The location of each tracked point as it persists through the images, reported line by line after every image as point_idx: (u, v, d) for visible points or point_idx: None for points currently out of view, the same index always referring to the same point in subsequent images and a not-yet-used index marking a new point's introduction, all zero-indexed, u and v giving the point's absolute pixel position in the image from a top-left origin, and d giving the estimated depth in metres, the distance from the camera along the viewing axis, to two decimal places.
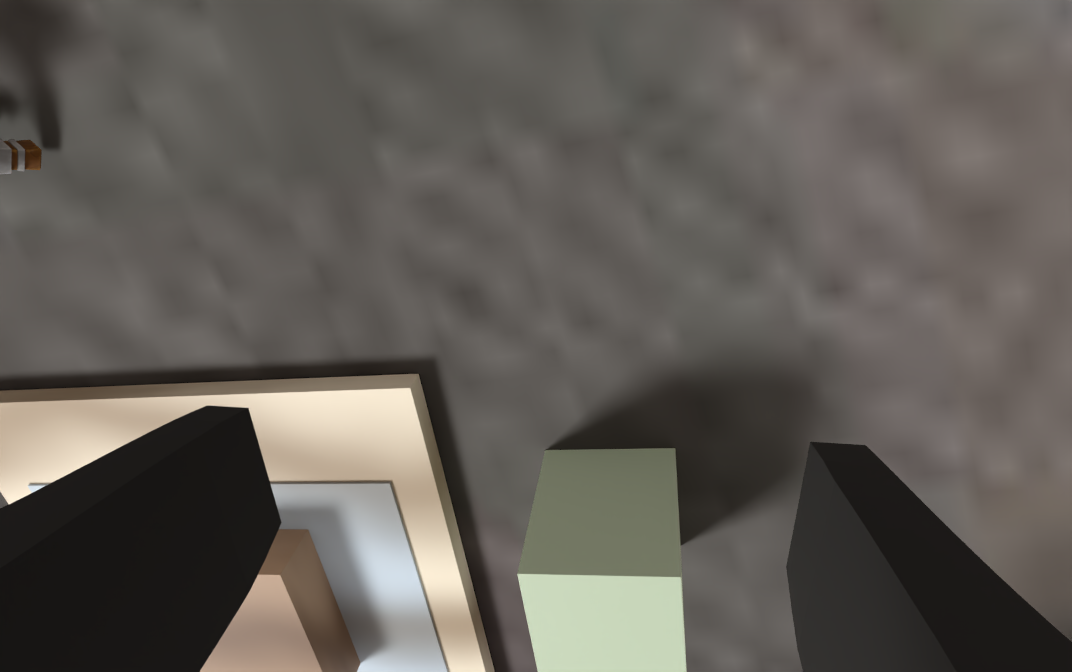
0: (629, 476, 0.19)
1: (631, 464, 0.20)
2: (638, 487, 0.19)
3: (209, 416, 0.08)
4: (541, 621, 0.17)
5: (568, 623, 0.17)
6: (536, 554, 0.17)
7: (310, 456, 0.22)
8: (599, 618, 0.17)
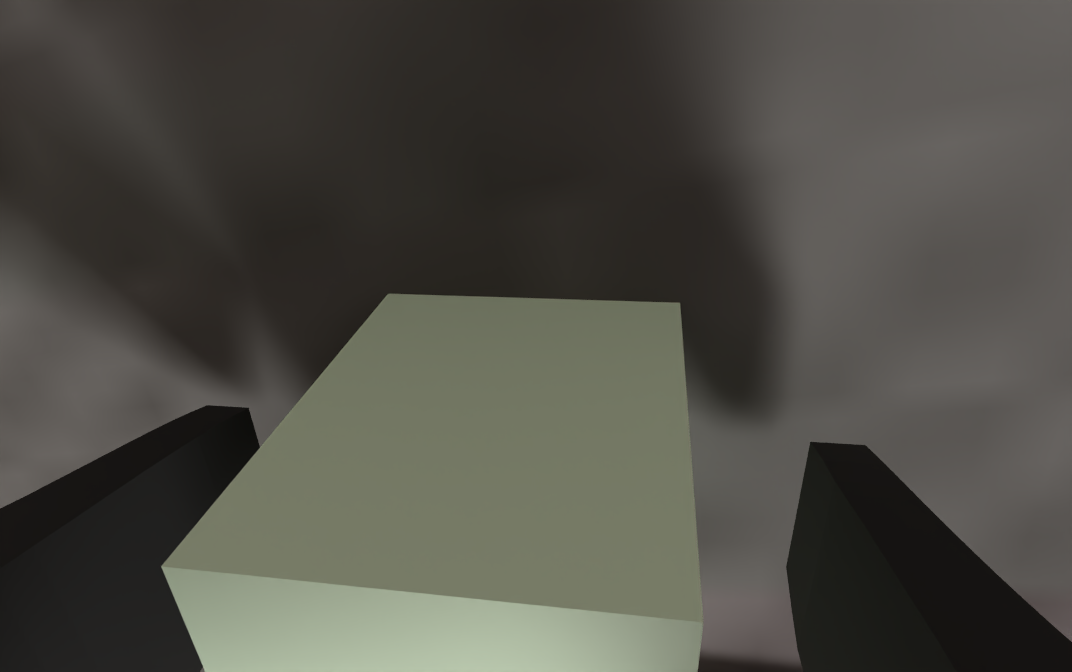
0: None
1: None
2: None
3: (209, 415, 0.08)
4: None
5: None
6: None
7: None
8: None
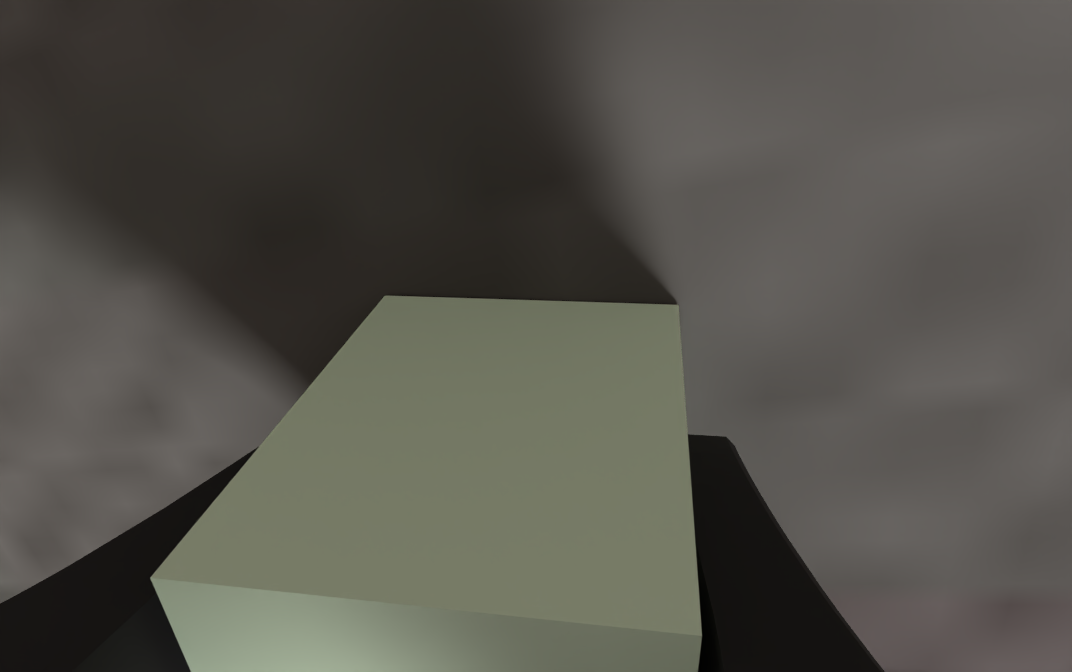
0: None
1: None
2: None
3: None
4: None
5: None
6: None
7: None
8: None
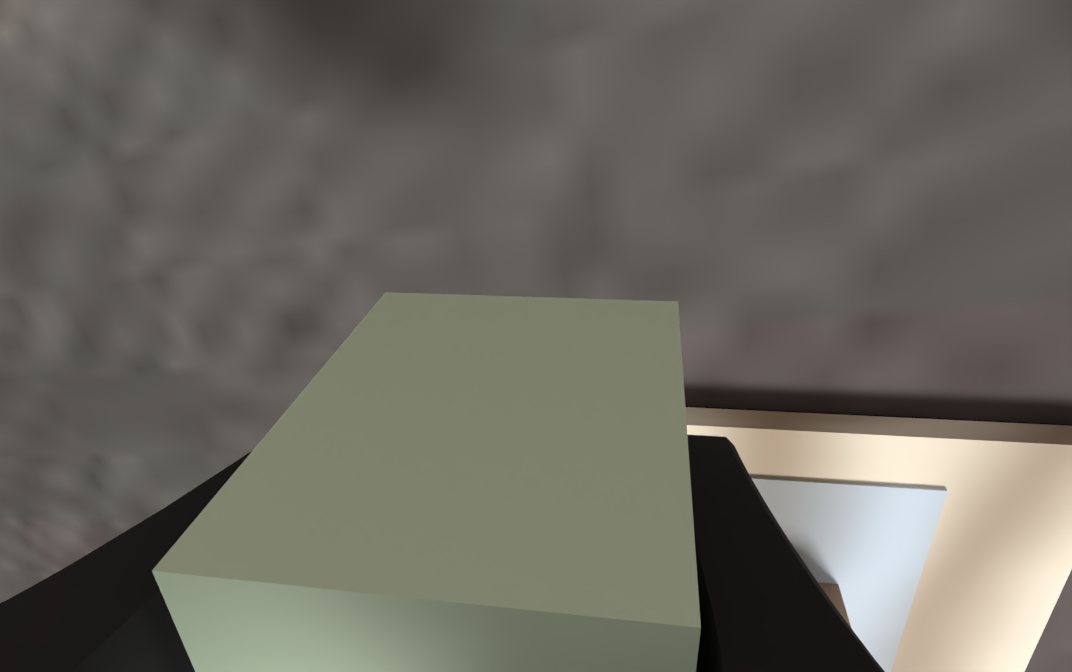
0: None
1: None
2: None
3: None
4: None
5: None
6: None
7: None
8: None
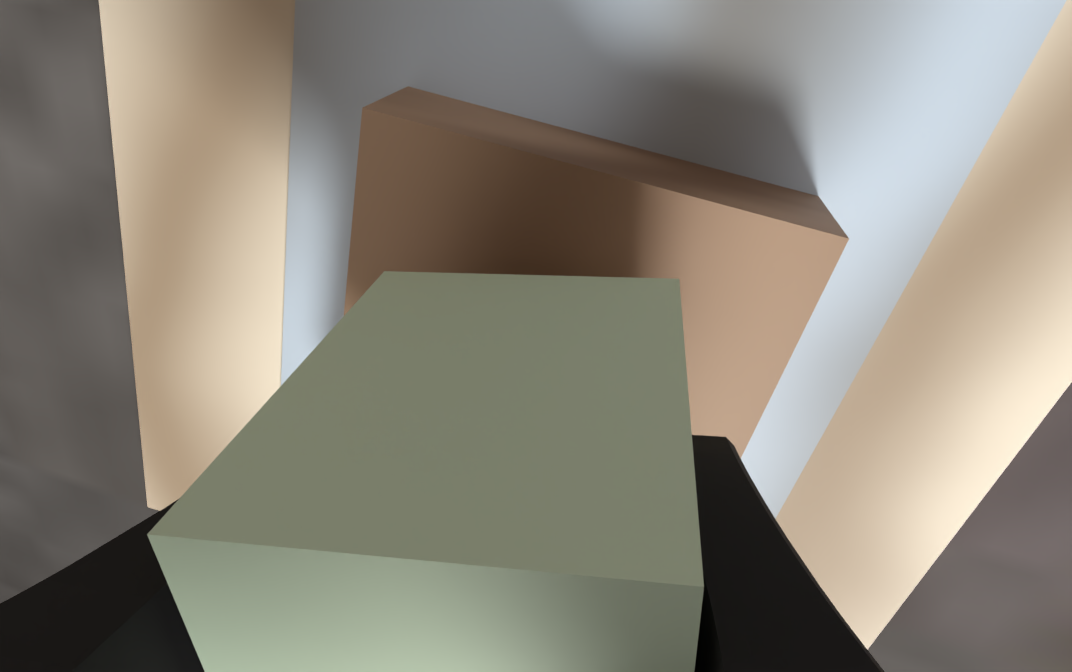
0: None
1: None
2: None
3: None
4: None
5: None
6: None
7: None
8: None
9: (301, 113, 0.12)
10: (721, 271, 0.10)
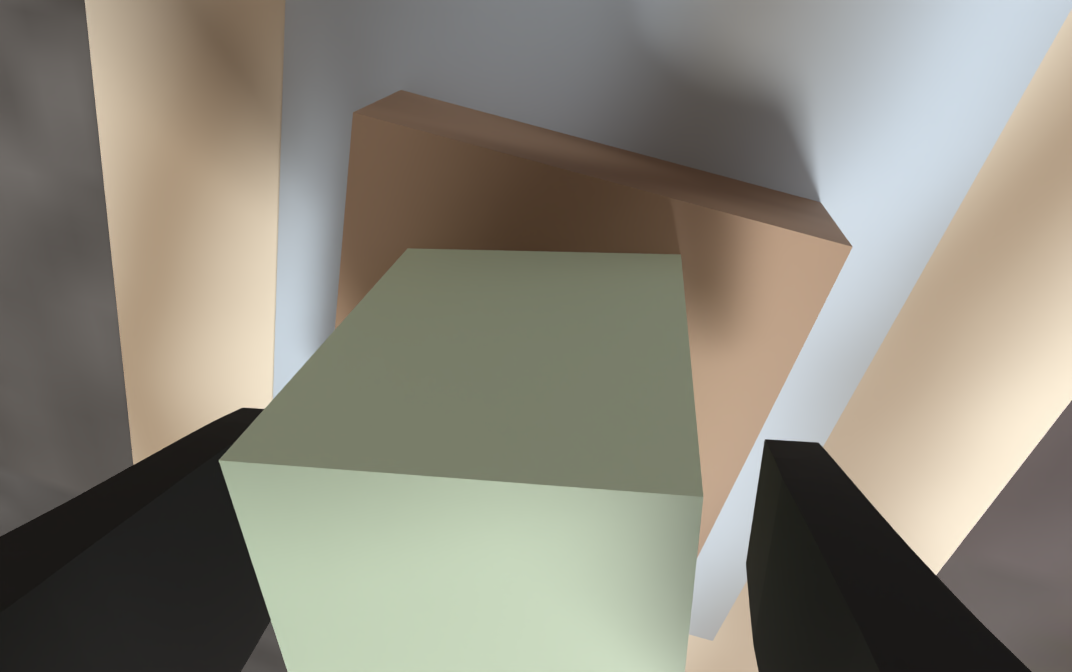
0: None
1: None
2: None
3: (246, 417, 0.08)
4: None
5: None
6: None
7: None
8: (422, 643, 0.06)
9: (292, 117, 0.12)
10: (721, 280, 0.09)
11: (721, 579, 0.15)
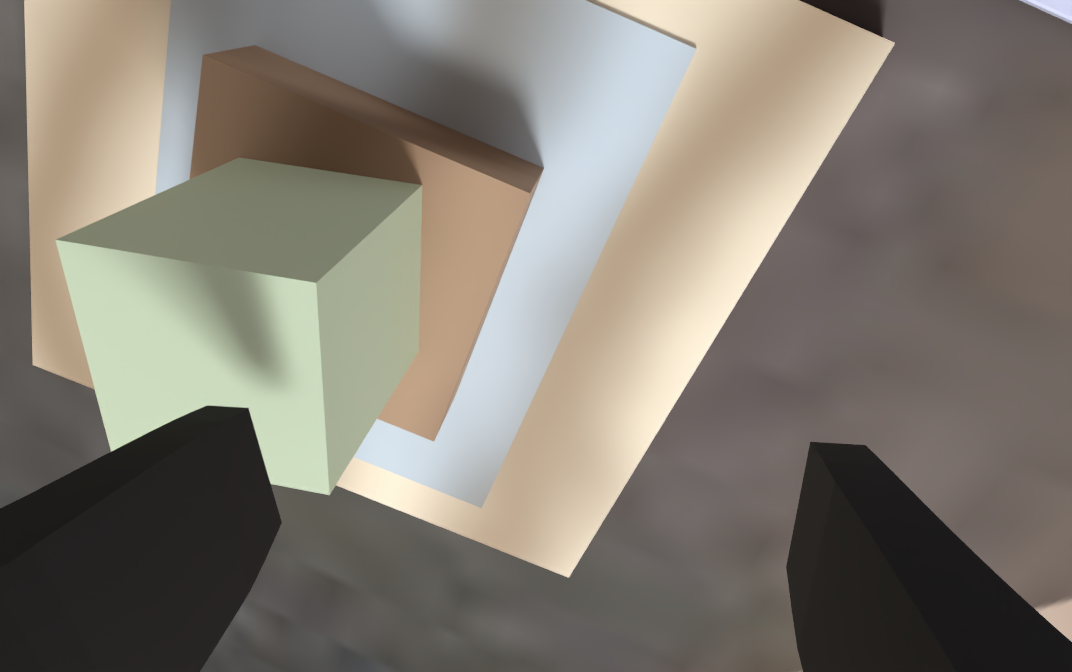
0: None
1: None
2: None
3: (209, 416, 0.08)
4: None
5: None
6: None
7: None
8: (176, 376, 0.11)
9: (175, 53, 0.15)
10: (448, 206, 0.14)
11: (487, 457, 0.20)
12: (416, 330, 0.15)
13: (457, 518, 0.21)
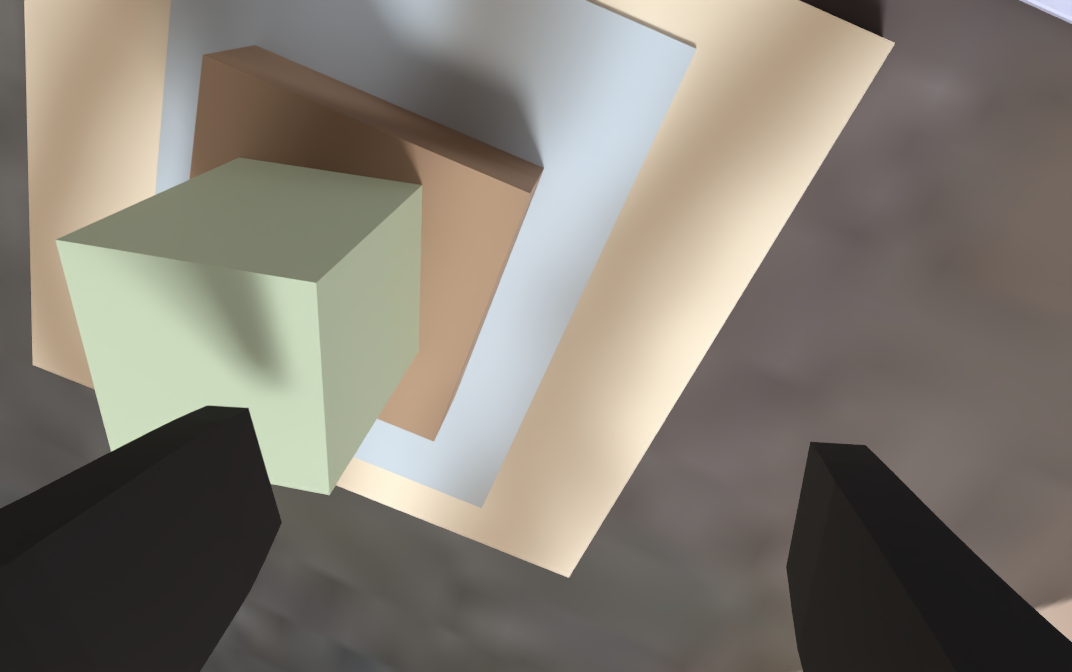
0: None
1: None
2: None
3: (209, 415, 0.08)
4: None
5: None
6: None
7: None
8: (176, 376, 0.11)
9: (175, 53, 0.15)
10: (448, 206, 0.14)
11: (487, 457, 0.20)
12: (416, 330, 0.15)
13: (457, 518, 0.21)
